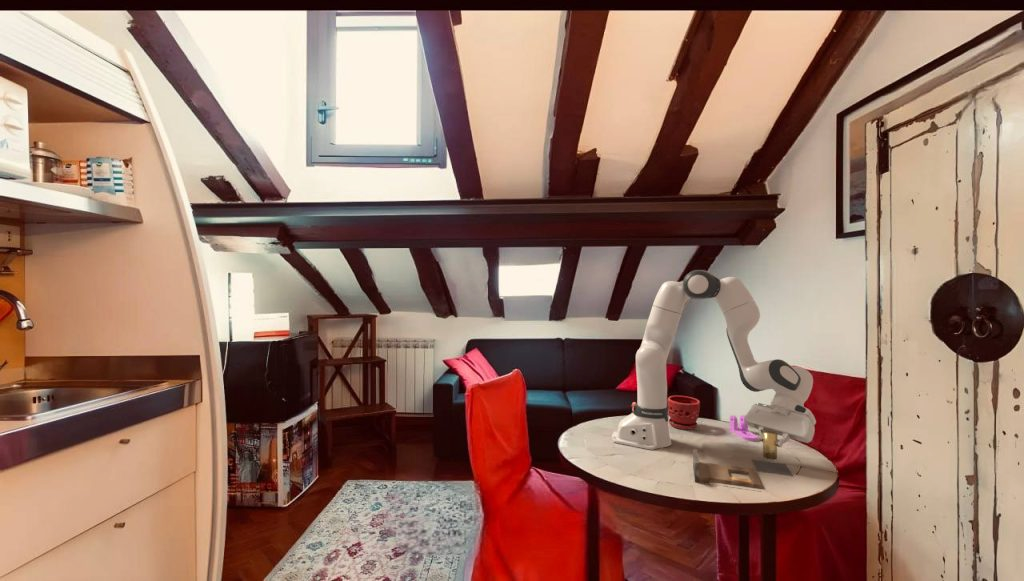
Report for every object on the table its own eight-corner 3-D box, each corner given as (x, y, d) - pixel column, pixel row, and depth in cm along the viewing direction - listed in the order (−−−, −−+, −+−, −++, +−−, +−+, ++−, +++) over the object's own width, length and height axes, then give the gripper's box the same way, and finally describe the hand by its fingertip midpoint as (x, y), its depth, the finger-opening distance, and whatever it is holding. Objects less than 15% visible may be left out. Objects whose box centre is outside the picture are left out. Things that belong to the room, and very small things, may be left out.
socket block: (694, 482, 131) (694, 462, 131) (693, 466, 142) (693, 449, 142) (761, 491, 124) (761, 471, 124) (754, 475, 135) (754, 456, 135)
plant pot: (665, 428, 181) (665, 400, 181) (669, 420, 192) (669, 394, 192) (698, 433, 175) (698, 404, 175) (701, 424, 186) (701, 397, 186)
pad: (757, 474, 136) (757, 471, 136) (751, 462, 145) (751, 459, 145) (793, 479, 132) (793, 476, 132) (785, 466, 142) (785, 463, 142)
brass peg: (764, 458, 138) (764, 434, 138) (761, 453, 142) (762, 430, 142) (778, 460, 136) (778, 435, 136) (775, 455, 140) (775, 431, 140)
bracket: (729, 430, 179) (729, 414, 179) (743, 430, 178) (743, 414, 178) (746, 441, 166) (746, 424, 166) (760, 441, 165) (760, 424, 165)
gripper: (750, 396, 151) (734, 428, 146) (815, 411, 134) (799, 447, 129) (757, 407, 154) (741, 438, 149) (821, 423, 136) (806, 459, 131)
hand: (769, 443), depth 139 cm, fingers closed on brass peg, 4 cm apart
